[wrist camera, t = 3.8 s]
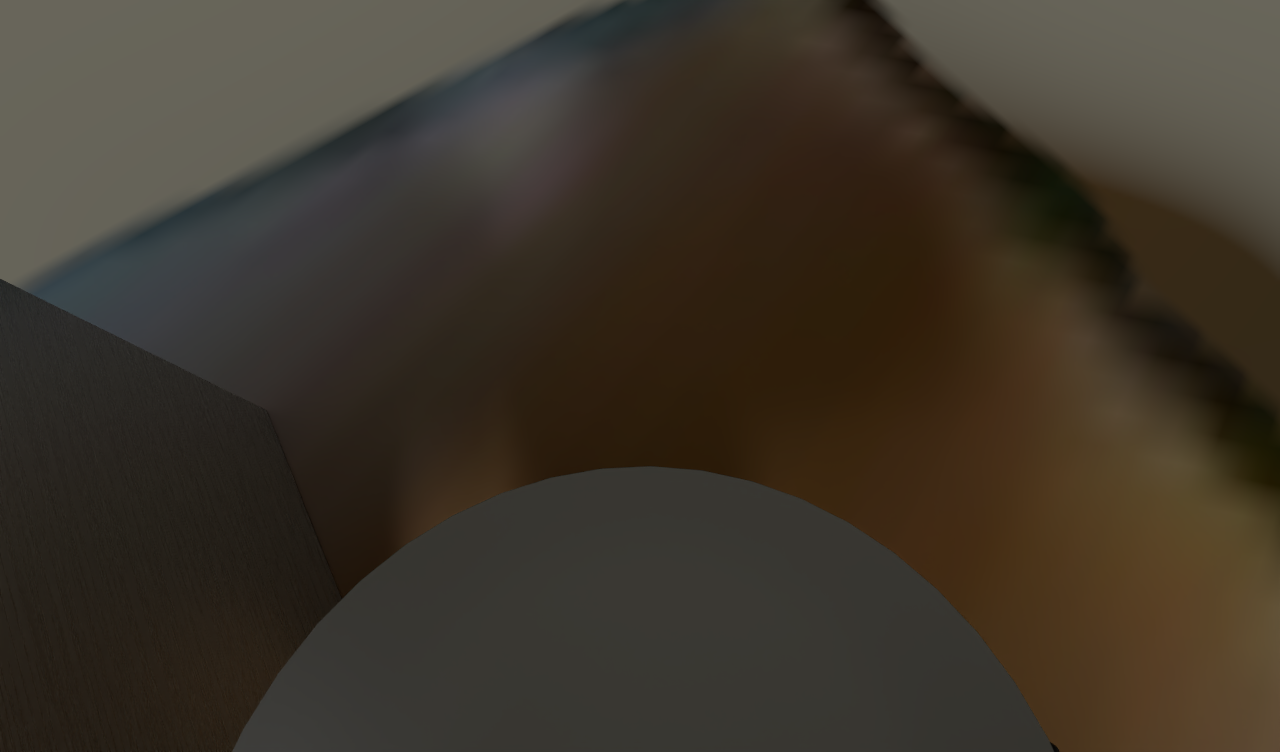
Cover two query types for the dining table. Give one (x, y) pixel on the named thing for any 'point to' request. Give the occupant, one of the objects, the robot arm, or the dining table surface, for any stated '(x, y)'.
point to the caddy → (139, 546)
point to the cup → (643, 635)
